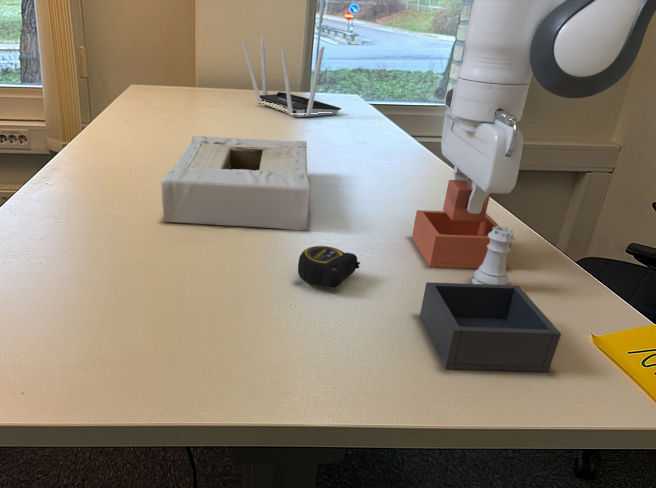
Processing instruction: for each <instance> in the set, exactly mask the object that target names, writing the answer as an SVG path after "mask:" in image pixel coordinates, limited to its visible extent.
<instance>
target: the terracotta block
mask: <svg viewBox="0 0 656 488" xmlns="http://www.w3.org/2000/svg"><path fill="white" fill-rule="evenodd" d="M447 182H448V183H447V187H446V192H445V197H444V202H443V207H442V211H444V212H445V213H446V214H447V215H448V216H449V218H450V219H451V220H452V221H477V222H484V219H485V214H486V213H487V210H488V206H489V201H490V197H491V194H492V193H489V195H488V196H487V198H486V199H485V201H484V202H483V206H482V210H481V212H480V213H479V214H472V213H469V212H468V211H467V210H466V208H465V206H466V201H467V198H470V195H471V193H472V190H473V189H472V183H473V181H472V180H469V181H465V180H454V179H448V181H447Z"/></svg>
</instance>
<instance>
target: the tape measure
mask: <svg viewBox="0 0 656 488" xmlns="http://www.w3.org/2000/svg"><path fill="white" fill-rule="evenodd" d="M360 264H361V262H360V261H358V257H357V255H356V254H355V253H352V252H345V251H342V250H341V249H338V248H336V247H332V246H327V245H315V246H310V247H307V248H306V249H304V250H303V251H302V252H301V253H300V254H299V258H298V264H297V273H298V276H299V278H300V279H301V280H302V281H303V282H305V283H306V284H309V285H310V286H315V287H322V288H327V289H337V288H339V287H340V286H341V285H342V283H343V282H344V281H346V279H348V278H349V277H351V276H352V275H353V274H354V273H355V272H356V269H358V270H359V269H360Z"/></svg>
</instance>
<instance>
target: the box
mask: <svg viewBox="0 0 656 488" xmlns="http://www.w3.org/2000/svg"><path fill="white" fill-rule="evenodd" d="M307 145H308V144H307V141H306V140H273V139H257V138H256V139H255V138H237V137H219V136H218V137H217V136H216V137H215V136H206V135H193V136H192V137H191V141H190V142H189V144H188V145H187V147H186V148H185V150H184V152H183V153H182V154H181V156H180V157H179V158H178V160H177V162H176V163H175V164H174V166H173V167H172V169H171V170H170V171H168V172H167V173H166V174H165V175H164V176H163V177H162V180H161V181H160V186H161V203H162V204H161V205H162V213H163V220H164V222H167V223H179V224H181V223H182V224H183V223H184V224H199V225H213V226H214V225H216V226H228V227H229V226H231V227H246V228H247V227H248V228H262V229H277V230H293V231H306V230H307V228H308V222H309V214H310V213H309V211H310V202H311V201H310V200H311V184H310V180H309V178H308V157H307V156H308V155H307V154H308V153H307V147H308V146H307Z"/></svg>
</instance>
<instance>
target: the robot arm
mask: <svg viewBox="0 0 656 488" xmlns="http://www.w3.org/2000/svg"><path fill="white" fill-rule="evenodd" d="M655 12H656V0H473V2H472V5H471V8H470V13H469V17H468V22H467V26H466V31H465V36H464V37H465V38H464V57H463V61H462V64H461V67H460V68H459V70H458V73H457V78H456V83H455V85H454V86H452V87H451V88H449V89H447V90H446V92H445V95H444V101H443V104H444V106H445V107H446V110H445V114H444V117H443V118H444V119H443V125H442V126H443V127H442V134H441V141H440V142H441V145H440V147H441V155H442V156H443V157H445V158H446V159H447V160H448V161H449V162H450V163H451V164H453V171H452V173H453V180H465V181H473V183H472V189H473V190H472V193H471V195H470V198H467V201H466V206H465V208H466V210H467V211H468V212H469V213H472V214H479V213H480V212H481V210H482V206H483V202H484V201H485V199H486V198H487V196H488V195H489V193H491V194H501V195H502V194H505V195H507V194H510V193H511V192H513V190H514V189H515V187H516V184H517V180H518V176H519V171H520V166H521V162H522V161H521V160H522V155H523V147H524V137H523V133H522V132H521V130H520V129H519V128H518V122H520V121H521V120H522V117H523V113H524V109H525V105H526V102H527V101H526V100H527V97H528V93H529V89H530V85H531V81H532V78H533V76H534V78H535V80H536V81H537V82H538V84H539V85H540V86H541V87H542V88H543V89H544V90H546V91H547V92H549V93H551V94H552V95H554V96H558V97H561V98H567V99H583V98H588V97H591V96H592V97H593V96H595V95H597V94H601V93H602V92H604V91H606V90H608V89H610V88H611V87H613V86H614V85H616V84H617V83H618V82H619V81H620V80H622V78H623V77H624V76H625V75H626V74H627V73H628V71H630V69H631V67H632V66H633V64H634V62H635V60H636V59H637V56H638V54H639V52H640V50H641V47H642V44H643V41H644V38H645V35H646V33H647V30H648V27H649V25H650V22H651V20H652V18H653V16H654V14H655Z"/></svg>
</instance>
